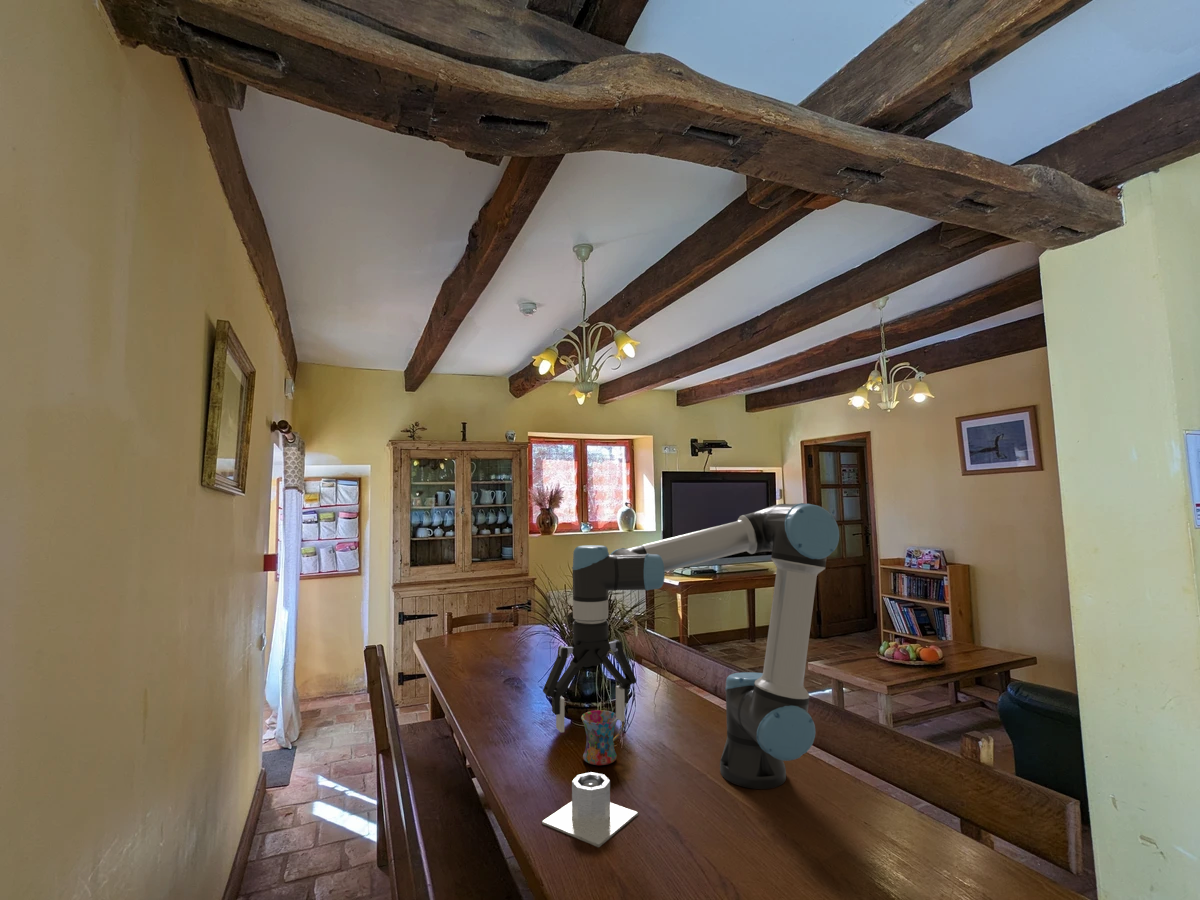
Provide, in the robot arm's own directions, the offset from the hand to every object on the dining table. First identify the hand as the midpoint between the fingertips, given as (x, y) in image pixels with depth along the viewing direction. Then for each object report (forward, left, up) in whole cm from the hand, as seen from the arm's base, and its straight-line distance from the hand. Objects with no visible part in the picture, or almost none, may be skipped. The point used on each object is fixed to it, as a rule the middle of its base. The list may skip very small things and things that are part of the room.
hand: (590, 724), depth 120 cm
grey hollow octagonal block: (0, 0, -18) cm, 18 cm away
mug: (+14, -24, -19) cm, 34 cm away
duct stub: (0, 0, -19) cm, 19 cm away
